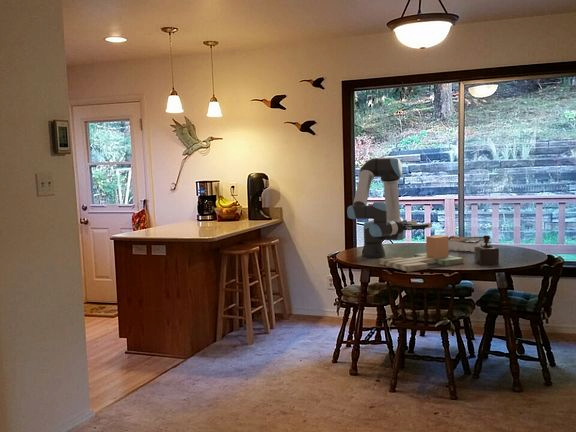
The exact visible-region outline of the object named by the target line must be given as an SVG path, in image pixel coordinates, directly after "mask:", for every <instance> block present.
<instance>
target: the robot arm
mask: <svg viewBox="0 0 576 432" xmlns="http://www.w3.org/2000/svg"><path fill="white" fill-rule="evenodd" d="M402 176H403V167H402V162H401V160H400V158H399V157H393V156H391V157H373V158H370V159H369V160H367V161H366V162H365V163H364V164H362V165H361V167H360V169H359V171H358V183H357V186H356V190H355V195H354V198H353V203H352V205H349V206H348V207H347V210H346V212H347V218H348V219H351V220H365V219H366V220H369V221H365V222H364V223H363V248H362V251H361V257H362V256H363V257H362V258H365V257H369V258H368V259H380V258H384V256H385V257H386V250H385V248H384V245H383V241H397V242H398V241H403V240H404V239H405V234H406V231H415V230H422V231H424V230H426V229H430V228H433V222H426V223H420V224H419V223H418V220H417V219H415V220H409V221H407V220H406V219H405V220H403V217H401V212H400V211H401V210H400V209H401V208H400V197H399V195H400V194H399V193H400V192H399V180H400V179H401V177H402ZM375 178H380V181H381V182H383V192H384V201H374V202H373V203H372V205H367V203H368V199H369V195H370V189H371V186H372V182H373V181H374V180H375ZM379 257H380V258H379Z"/></svg>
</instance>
